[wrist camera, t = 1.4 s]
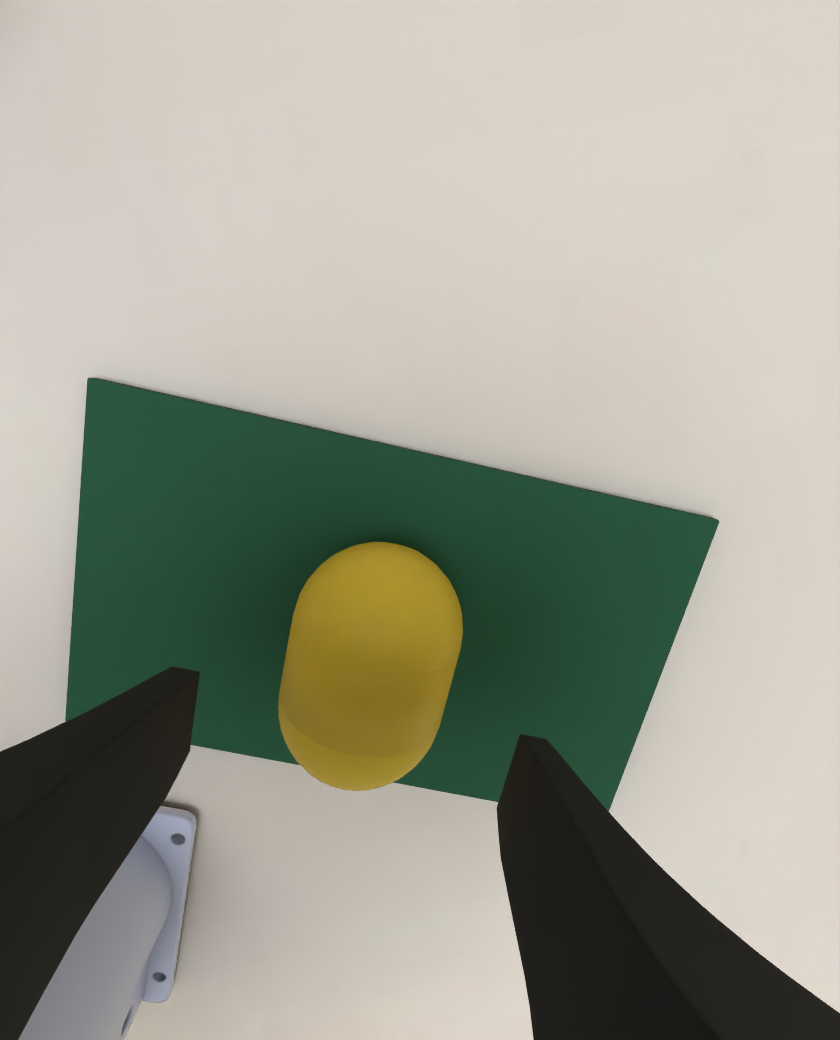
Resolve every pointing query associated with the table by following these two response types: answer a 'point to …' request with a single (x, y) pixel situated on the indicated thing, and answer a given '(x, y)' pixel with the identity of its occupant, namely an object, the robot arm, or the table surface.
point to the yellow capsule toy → (369, 665)
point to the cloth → (352, 521)
